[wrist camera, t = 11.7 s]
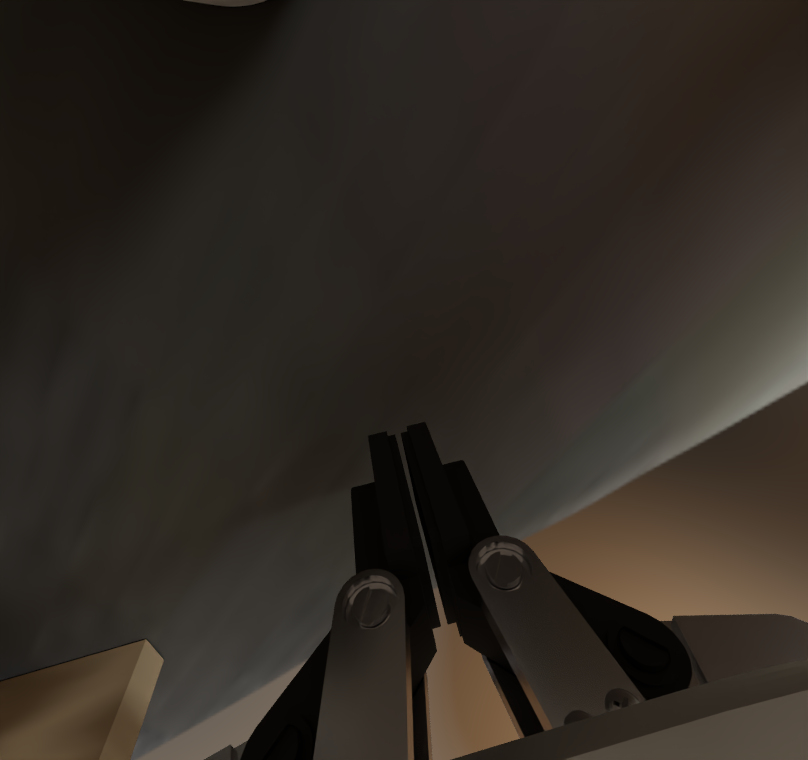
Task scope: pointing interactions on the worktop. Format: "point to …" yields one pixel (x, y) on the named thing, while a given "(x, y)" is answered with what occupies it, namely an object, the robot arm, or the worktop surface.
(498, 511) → the worktop surface
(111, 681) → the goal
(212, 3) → the cup
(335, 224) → the worktop surface
